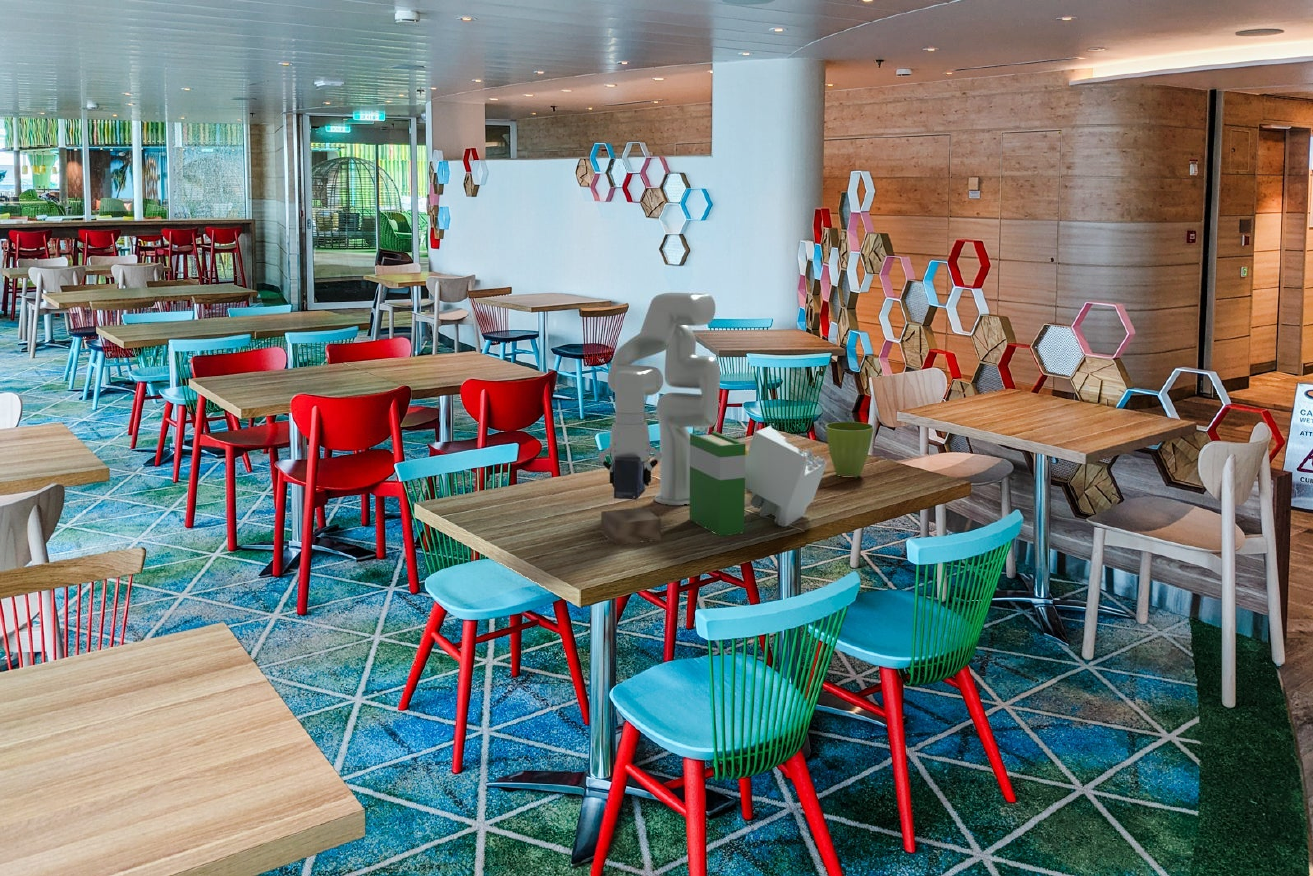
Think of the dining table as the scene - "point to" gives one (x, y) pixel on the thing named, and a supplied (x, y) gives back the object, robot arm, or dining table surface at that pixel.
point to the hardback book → (717, 483)
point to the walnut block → (630, 525)
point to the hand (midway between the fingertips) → (630, 485)
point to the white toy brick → (781, 476)
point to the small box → (628, 477)
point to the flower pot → (849, 446)
